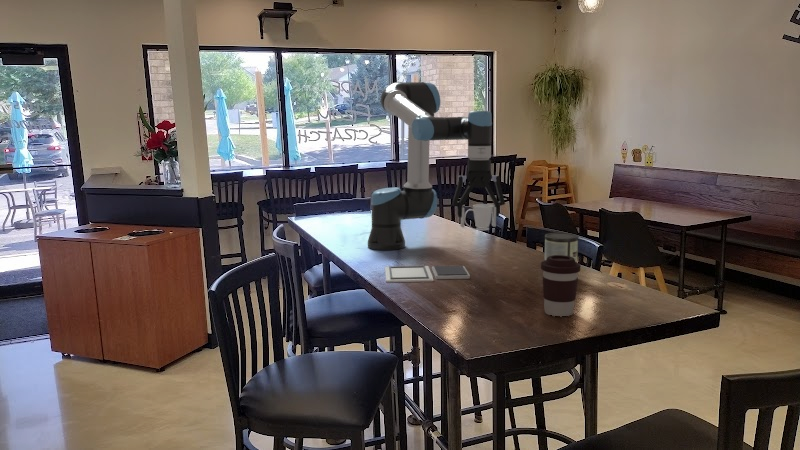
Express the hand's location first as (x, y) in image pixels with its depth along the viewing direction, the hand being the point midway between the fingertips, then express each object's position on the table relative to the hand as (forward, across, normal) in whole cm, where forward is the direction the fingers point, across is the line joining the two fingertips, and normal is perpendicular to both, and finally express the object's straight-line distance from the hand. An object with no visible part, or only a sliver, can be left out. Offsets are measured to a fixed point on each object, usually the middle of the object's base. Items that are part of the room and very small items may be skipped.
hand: (478, 226), depth 200 cm
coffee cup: (+15, +12, -46) cm, 50 cm away
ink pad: (+15, -10, -2) cm, 18 cm away
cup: (+1, 0, 0) cm, 1 cm away
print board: (+15, -24, -2) cm, 28 cm away
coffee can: (+15, +24, -12) cm, 31 cm away
